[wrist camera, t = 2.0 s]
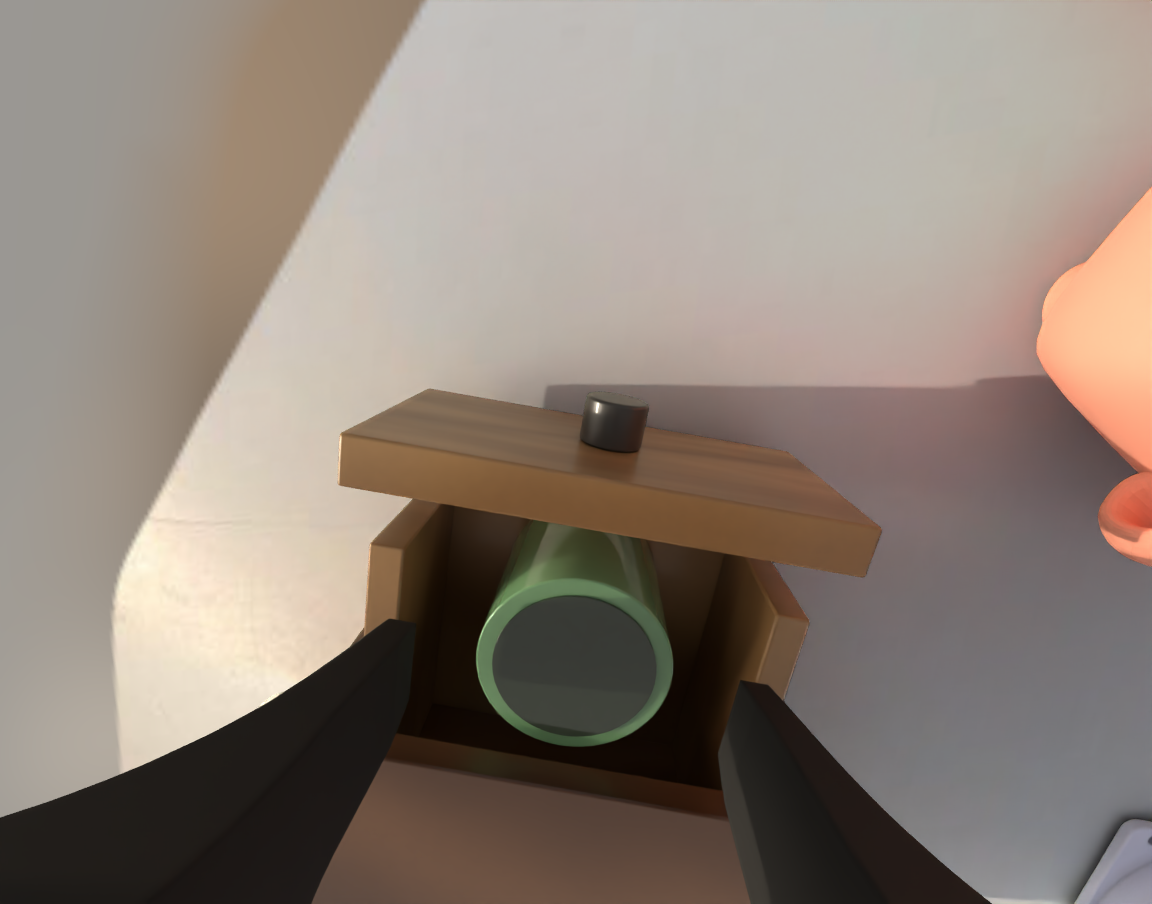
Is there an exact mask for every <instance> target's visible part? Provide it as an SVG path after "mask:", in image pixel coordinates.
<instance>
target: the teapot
mask: <svg viewBox="0 0 1152 904" xmlns="http://www.w3.org/2000/svg"><path fill="white" fill-rule="evenodd" d="M1042 320H1043V324H1042V327H1041V330H1040V333H1039V336H1038V339H1037V355H1038V357H1039V359H1040V362H1041V364H1042V366H1043V368H1044V370H1045V371H1046V372H1047V374H1048V375H1049V376H1050V378H1051V379H1052V380H1053V381H1054V383H1055V384H1056V385H1057V387H1058V388H1059V389H1060V391H1061V392H1062V393H1063V394H1064V396H1065V397H1066V398H1067V399H1068V400H1069V401H1070V402H1071V403H1072V404H1073V406H1074V407H1075V408H1076V409H1077V410H1078V411H1079V412H1080V413H1081V414H1082V415H1083V417H1084V418H1085V419H1086V420H1087V421H1088V422H1089V423H1090V424H1091V425H1092V426H1093V428H1094V429H1095V430H1096V431H1097V432H1098V433H1099V434H1100V435H1101V436H1102V437H1103V438H1104V439H1105V440H1106V441H1107V442H1108V443H1109V444H1110V445H1111V446H1112V447H1113V448H1114V449H1115V450H1116V451H1117V452H1118V453H1119V454H1120V455H1121V457H1123V458H1124V459H1125V460H1126V461H1127V462H1128V463H1129V464H1130V465H1131V466H1132V467H1133V468H1134V469H1135V470H1136V471H1137V472H1138V473H1137V474H1135V475H1132V476H1130V477H1128V478H1127V479H1125V480H1123V481H1122V482H1120V483H1119V484H1118V485H1117V486H1115V487H1114V488H1113V489H1112V490H1111V492H1110V493H1109V494H1108V495H1107V496H1106V498H1105V499H1104V501H1103V503H1102V504H1101V506H1100V509H1099V513H1098V520H1099V526H1100V529H1101V531H1102V533H1103V535H1104V537H1105V538H1106V540H1107V541H1108V543H1109V544H1110V545H1111V546H1112V547H1113V548H1115V549H1116V550H1117V551H1118V552H1119V553H1120V554H1122V555H1124V556H1125V557H1127V558H1129V559H1131V560H1133V561H1136V562H1139V563H1141V564H1144V565H1147V566H1151V567H1152V187H1151V188H1150V189H1149V190H1148V191H1147V192H1146V194H1145V195H1144V196H1143V197H1142V198H1141V199H1140V200H1139V201H1138V202H1137V204H1136V205H1135V206H1134V207H1133V208H1132V209H1131V210H1130V212H1129V213H1128V214H1127V215H1126V216H1125V217H1124V218H1123V220H1122V221H1121V222H1120V223H1119V224H1118V225H1117V226H1116V228H1115V229H1114V230H1113V231H1112V232H1111V233H1110V234H1109V236H1108V237H1107V238H1106V239H1105V240H1104V242H1103V243H1102V244H1101V245H1100V246H1099V248H1098V249H1097V250H1096V251H1095V252H1094V253H1093V255H1092V256H1091V257H1090V258H1089V259H1088V261H1087V262H1085V263H1082V264H1079V265H1077V266H1075V267H1073V268H1072V269H1070V270H1068V271H1067V272H1066V273H1065V274H1063V275H1062V276H1061V277H1060V278H1059V279H1058V280H1057V281H1056V282H1055V283H1054V285H1053V286H1052V288H1051V289H1050V291H1049V292H1048V295H1047V297H1046V299H1045V302H1044V306H1043V310H1042Z"/></svg>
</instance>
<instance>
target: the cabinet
mask: <svg viewBox="0 0 1152 904" xmlns="http://www.w3.org/2000/svg"><path fill="white" fill-rule="evenodd" d="M363 637H364V628H363V630H362V631H361V632H360V634H359V635H358V637H357V638H356V639H355V641H354V642H353V643H352V645H353V644H355V643H356V642H357V641H359V640H360V639H361V638H363ZM352 645H351V646H352ZM311 904H751V903H750V899H749V895H748V892H747V888H746V884H745V880H744V877H743V873H742V869H741V865H740V861H739V858H738V854H737V850H736V846H735V842H734V839H733V835H732V831H731V827H730V823H729V819H728V815H727V811H726V807H725V802H724V796H723V791H722V790H717V789H711V788H705V787H700V786H694V785H688V784H683V783H677V782H671V781H666V780H660V779H654V778H649V777H643V776H637V775H632V774H626V773H620V772H615V771H609V770H603V769H598V768H592V767H586V766H581V765H575V764H569V763H564V762H558V761H552V760H547V759H541V758H535V757H530V756H524V755H518V754H513V753H507V752H501V751H495V750H490V749H484V748H478V747H473V746H467V745H461V744H456V743H450V742H444V741H439V740H433V739H427V738H422V737H416V736H410V735H405V734H399V733H396V735H395V737H394V740H393V742H392V744H391V747H390V749H389V751H388V753H387V754H386V756H385V758H384V760H383V762H382V764H381V766H380V768H379V770H378V772H377V774H376V776H375V778H374V779H373V781H372V783H371V785H370V787H369V789H368V791H367V793H366V795H365V796H364V798H363V800H362V802H361V804H360V806H359V808H358V810H357V812H356V814H355V815H354V817H353V819H352V821H351V823H350V825H349V827H348V829H347V831H346V832H345V834H344V836H343V838H342V840H341V842H340V844H339V846H338V848H337V849H336V851H335V853H334V855H333V857H332V859H331V861H330V863H329V866H328V868H327V870H326V872H325V874H324V876H323V878H322V880H321V882H320V885H319V887H318V889H317V892H316V894H315V896H314V899H313V901H312V903H311Z"/></svg>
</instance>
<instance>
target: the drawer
mask: <svg viewBox="0 0 1152 904" xmlns="http://www.w3.org/2000/svg"><path fill="white" fill-rule="evenodd" d="M648 411H649V405H648V404H647V403H646V402H644V401H642V400H640V399H637V398H634V397H630V396H626V395H622V394H616V393H610V392H592V393H589V394H588V395H587V397H586V402H585V408H584V414H583V416H582V415H576V414H571V413H565V412H559V411H554V410H548V409H542V408H537V407H531V406H525V405H520V404H514V403H508V402H503V401H497V400H491V399H485V398H480V397H474V396H468V395H463V394H457V393H451V392H446V391H440V390H434V389H427V390H425V391H423V392H421V393H419V394H417V395H415V396H413V397H411V398H409V399H407V400H405V401H403V402H401V403H399V404H397V405H395V406H393V407H391V408H389V409H387V410H385V411H383V412H381V413H379V414H377V415H375V416H373V417H371V418H369V419H368V420H366V421H364V422H362V423H360V424H358V425H356V426H354V427H352V428H350V429H348V430H346V431H344V432H342V433H341V434H340V440H339V462H338V485H340V486H345V487H351V488H356V489H362V490H368V491H373V492H379V493H385V494H390V495H396V496H402V497H407V498H413V499H412V500H411V501H410V502H409V504H408V505H407V506H406V507H405V508H404V509H403V510H402V511H401V512H400V513H399V514H398V515H397V516H396V517H395V518H394V519H393V520H392V521H391V522H390V523H389V524H388V525H387V527H386V528H385V529H384V530H383V531H382V532H381V533H380V534H379V535H378V536H377V537H376V538H375V539H374V540H373V541H372V542H371V543H370V549H369V564H368V580H367V595H366V611H365V626H364V636H365V635H367V634H368V633H369V632H371V631H372V630H373V629H375V628H376V627H377V626H379V625H380V624H382V623H383V622H384V621H386V620H387V619H389V618H390V619H395V620H401V621H407V622H413V623H416V632H415V643H414V653H413V663H412V674H411V684H410V695H409V701H408V704H407V706H406V709H405V712H404V714H403V717H402V719H401V722H400V725H399V727H398V730H397V732H396V733H399V734H405V735H410V736H416V737H422V738H427V739H433V740H439V741H444V742H450V743H456V744H461V745H467V746H473V747H478V748H484V749H490V750H495V751H501V752H507V753H513V754H518V755H524V756H530V757H535V758H541V759H547V760H552V761H558V762H564V763H569V764H575V765H581V766H586V767H592V768H598V769H603V770H609V771H615V772H620V773H626V774H632V775H637V776H643V777H649V778H654V779H660V780H666V781H671V782H677V783H683V784H688V785H694V786H700V787H705V788H711V789H717V790H722V791H723V789H722V783H721V775H720V767H719V760H718V751H719V748H720V745H721V741H722V738H723V735H724V732H725V728H726V725H727V722H728V719H729V715H730V712H731V709H732V706H733V702H734V699H735V696H736V693H737V689H738V686H739V683H740V680H744V681H750V682H756V683H761V684H767V685H769V686H770V687H771V688H772V689H773V690H774V691H775V693H776V694H777V695H778V696H779V697H780V698H781V699H782V700H783V701H784V698H785V695H786V692H787V689H788V686H789V683H790V680H791V677H792V674H793V671H794V668H795V665H796V662H797V659H798V656H799V654H800V651H801V648H802V645H803V642H804V639H805V636H806V633H807V630H808V627H809V623H810V622H809V619H808V617H807V616H806V614H805V613H804V611H803V610H802V608H801V606H800V605H799V603H798V602H797V600H796V599H795V597H794V596H793V594H792V592H791V591H790V589H789V588H788V586H787V585H786V583H785V582H784V580H783V579H782V577H781V575H780V574H779V572H778V571H777V569H776V568H775V566H774V565H773V563H772V562H777V563H782V564H788V565H794V566H800V567H805V568H811V569H817V570H822V571H828V572H834V573H839V574H845V575H851V576H856V577H865V576H866V574H867V571H868V568H869V565H870V563H871V560H872V557H873V554H874V552H875V549H876V546H877V543H878V541H879V538H880V535H881V532H882V529H881V527H880V526H878V525H877V524H876V523H875V522H873V521H872V520H871V519H870V518H869V517H867V516H866V515H865V514H864V513H862V512H861V511H860V510H859V509H858V508H856V507H855V506H854V505H853V504H851V503H850V502H849V501H848V500H847V499H845V498H844V497H843V496H842V495H840V494H839V493H838V492H837V491H835V490H834V489H833V488H832V487H831V486H829V485H828V484H827V483H826V482H824V481H823V480H822V479H821V478H820V477H818V476H817V475H816V474H815V473H813V472H812V471H811V470H810V469H809V468H807V467H806V466H805V465H804V464H802V463H801V462H800V461H799V460H798V459H796V458H795V457H794V456H793V455H791V454H790V453H789V452H787V451H781V450H775V449H770V448H764V447H758V446H753V445H747V444H741V443H736V442H730V441H724V440H719V439H713V438H707V437H701V436H696V435H690V434H684V433H679V432H673V431H667V430H662V429H656V428H650V427H645V425H646V421H647V416H648ZM531 520H538V521H544V522H550V523H555V524H561V525H567V526H572V527H578V528H584V529H589V530H595V531H601V532H606V533H612V534H618V535H623V536H629V537H635V538H640V539H646V540H647V541H648V543H649V545H650V548H651V550H652V553H653V557H654V561H655V566H656V571H657V576H658V581H659V587H660V592H661V597H662V602H663V607H664V612H665V617H666V622H667V627H668V632H669V637H670V642H671V647H672V653H673V661H674V663H673V677H672V682H671V686H670V689H669V691H668V694H667V696H666V698H665V700H664V702H663V704H662V705H661V707H660V708H659V710H658V711H657V712H656V714H655V715H654V716H653V717H652V718H651V719H650V720H649V721H648V722H647V723H646V724H644V725H643V726H642V727H640V728H639V729H638V730H636V731H634V732H633V733H631V734H630V735H628V736H625V737H623V738H621V739H619V740H616V741H613V742H610V743H606V744H601V745H597V746H587V747H569V746H561V745H555V744H551V743H547V742H544V741H541V740H538V739H535V738H533V737H531V736H529V735H527V734H525V733H523V732H521V731H520V730H518V729H516V728H515V727H513V726H512V725H511V724H510V723H508V722H507V721H506V720H505V719H504V718H503V717H502V716H501V715H500V714H499V713H498V712H497V711H496V710H495V709H494V707H493V706H492V705H491V703H490V702H489V700H488V699H487V697H486V695H485V693H484V691H483V689H482V686H481V684H480V681H479V677H478V673H477V665H476V652H477V645H478V641H479V637H480V634H481V631H482V629H483V626H484V623H485V621H486V618H487V615H488V612H489V610H490V607H491V604H492V601H493V599H494V596H495V593H496V591H497V588H498V585H499V582H500V580H501V577H502V574H503V571H504V569H505V566H506V563H507V561H508V558H509V555H510V552H511V550H512V547H513V544H514V542H515V540H516V538H517V537H518V535H519V533H520V532H521V531H522V529H523V528H524V527H525V526H526V525H527V524H528V523H529V522H530V521H531Z"/></svg>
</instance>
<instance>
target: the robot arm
mask: <svg viewBox="0 0 1152 904" xmlns="http://www.w3.org/2000/svg"><path fill="white" fill-rule="evenodd" d="M415 632H416V623H413V622H407V621H401V620H395V619H390V618H389V619H387V620H386V621H384V622H383V623H382V624H380V625H379V626H377V627H376V628H375V629H373V630H372V631H371V632H369V633H368V634H367V635H365V636H364V637H363V638H361V639H360V640H359V641H357V642H356V643H355V644H353V645H352V646H350V647H349V648H348V649H346V650H345V651H344V652H342V653H341V654H340V655H338V656H337V657H335V658H334V659H332V660H331V661H330V662H328V663H327V664H325V665H324V666H322V667H321V668H320V669H318V670H317V671H315V672H314V673H312V674H311V675H310V676H308V677H307V678H305V679H304V680H302V681H300V682H299V683H297V684H296V685H294V686H293V687H291V688H289V689H288V690H286V691H285V692H283V693H282V694H280V695H278V696H277V697H275V698H274V699H272V700H271V701H269V702H267V703H266V704H264V705H262V706H261V707H259V708H257V709H255V710H254V711H252V712H250V713H248V714H247V715H245V716H243V717H241V718H239V719H237V720H236V721H234V722H232V723H230V724H228V725H226V726H224V727H222V728H221V729H219V730H217V731H215V732H213V733H211V734H209V735H207V736H205V737H203V738H200V739H198V740H196V741H194V742H192V743H190V744H188V745H185V746H183V747H181V748H179V749H177V750H175V751H172V752H170V753H168V754H166V755H164V756H162V757H160V758H157V759H155V760H153V761H151V762H149V763H146V764H144V765H142V766H139V767H137V768H135V769H132V770H130V771H127V772H125V773H122V774H120V775H118V776H115V777H113V778H110V779H108V780H105V781H103V782H100V783H97V784H95V785H92V786H90V787H87V788H84V789H82V790H79V791H76V792H74V793H71V794H69V795H66V796H63V797H60V798H57V799H55V800H52V801H49V802H46V803H43V804H40V805H37V806H35V807H31V808H28V809H25V810H22V811H19V812H16V813H13V814H10V815H7V816H4V817H1V818H0V904H311V903H312V901H313V899H314V896H315V894H316V892H317V889H318V887H319V885H320V882H321V880H322V878H323V876H324V874H325V872H326V870H327V868H328V866H329V863H330V861H331V859H332V857H333V855H334V853H335V851H336V849H337V848H338V846H339V844H340V842H341V840H342V838H343V836H344V834H345V832H346V831H347V829H348V827H349V825H350V823H351V821H352V819H353V817H354V815H355V814H356V812H357V810H358V808H359V806H360V804H361V802H362V800H363V798H364V796H365V795H366V793H367V791H368V789H369V787H370V785H371V783H372V781H373V779H374V778H375V776H376V774H377V772H378V770H379V768H380V766H381V764H382V762H383V760H384V758H385V756H386V754H387V753H388V751H389V749H390V747H391V744H392V742H393V740H394V737H395V735H396V732H397V730H398V727H399V725H400V722H401V719H402V717H403V714H404V712H405V709H406V706H407V704H408V701H409V695H410V684H411V674H412V663H413V653H414V643H415ZM718 760H719V767H720V775H721V783H722V789H723V796H724V802H725V807H726V811H727V815H728V819H729V823H730V827H731V831H732V835H733V839H734V842H735V846H736V850H737V854H738V858H739V861H740V865H741V869H742V873H743V877H744V880H745V884H746V888H747V892H748V895H749V899H750V903H751V904H992V903H990V902H989V901H988V900H987V899H985V898H984V897H983V896H982V895H980V894H979V893H978V892H977V891H975V890H974V889H973V888H972V887H970V886H969V885H968V884H967V883H965V882H964V881H963V880H962V879H961V878H959V877H958V876H957V875H956V874H955V873H953V872H952V871H951V870H950V869H949V868H947V867H946V866H945V865H944V864H943V863H942V862H940V861H939V860H938V859H937V858H936V857H935V856H934V855H933V854H931V853H930V852H929V851H928V850H927V849H926V848H925V847H924V846H923V845H921V844H920V843H919V842H918V841H917V840H916V839H915V838H914V837H913V836H911V835H910V834H909V833H908V832H907V831H906V830H905V829H904V828H903V827H902V826H900V825H899V824H898V823H897V822H896V821H895V820H894V819H893V818H892V817H891V816H890V815H889V814H888V813H887V812H886V811H885V810H884V809H883V808H882V807H881V806H880V805H879V804H878V803H877V802H876V801H875V800H874V799H873V798H872V797H871V796H870V795H869V794H868V793H867V792H866V791H865V790H864V789H863V788H862V787H861V786H860V785H859V784H858V783H857V782H856V781H855V780H854V779H853V778H852V777H851V776H850V775H849V774H848V773H847V771H846V770H845V769H844V768H843V767H842V766H841V765H840V764H839V763H838V762H837V761H836V760H835V759H834V757H833V756H832V755H831V754H830V753H829V752H828V751H827V750H826V749H825V748H824V747H823V745H822V744H821V743H820V742H819V741H818V740H817V739H816V738H815V736H814V735H813V734H812V733H811V732H810V731H809V730H808V729H807V727H806V726H805V725H804V724H803V723H802V722H801V721H800V719H799V718H798V717H797V716H796V715H795V714H794V713H793V712H792V710H791V709H790V708H789V707H788V706H787V705H786V704H785V702H784V701H783V700H782V699H781V698H780V697H779V696H778V695H777V694H776V693H775V691H774V690H773V689H772V688H771V687H770V686H769V685H767V684H761V683H756V682H750V681H744V680H740V683H739V686H738V689H737V693H736V696H735V699H734V702H733V706H732V709H731V712H730V715H729V719H728V722H727V725H726V728H725V732H724V735H723V738H722V741H721V745H720V748H719V751H718ZM1074 904H1152V822H1151V821H1145V820H1139V819H1132V820H1128V821H1126V822H1124V823H1123V824H1122V825H1121V827H1120V829H1119V830H1118V832H1117V833H1116V835H1115V837H1114V838H1113V840H1112V842H1111V843H1110V845H1109V847H1108V848H1107V850H1106V852H1105V853H1104V855H1103V857H1102V858H1101V860H1100V862H1099V863H1098V865H1097V867H1096V868H1095V870H1094V871H1093V873H1092V875H1091V876H1090V878H1089V880H1088V881H1087V883H1086V885H1085V886H1084V888H1083V890H1082V891H1081V893H1080V895H1079V896H1078V898H1077V900H1076V901H1075V903H1074Z"/></svg>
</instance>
